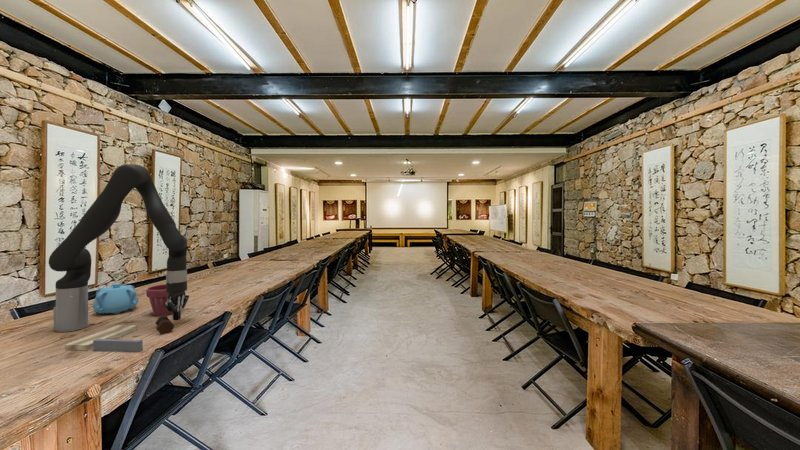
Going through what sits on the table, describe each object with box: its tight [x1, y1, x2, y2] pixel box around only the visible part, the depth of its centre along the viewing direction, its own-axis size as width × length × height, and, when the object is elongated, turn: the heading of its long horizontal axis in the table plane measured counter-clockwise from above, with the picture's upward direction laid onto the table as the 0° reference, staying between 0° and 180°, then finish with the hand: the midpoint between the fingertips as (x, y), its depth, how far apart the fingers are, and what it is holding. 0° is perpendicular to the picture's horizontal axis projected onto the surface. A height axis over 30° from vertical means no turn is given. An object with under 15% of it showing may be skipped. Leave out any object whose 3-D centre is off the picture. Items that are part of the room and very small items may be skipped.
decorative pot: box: [92, 282, 139, 315], centre depth 154 cm, size 16×16×14 cm
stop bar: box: [92, 338, 144, 353], centre depth 110 cm, size 16×2×4 cm, turn 89°
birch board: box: [64, 324, 138, 351], centre depth 119 cm, size 8×20×2 cm, turn 179°
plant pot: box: [146, 283, 173, 317], centre depth 152 cm, size 14×14×13 cm
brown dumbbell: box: [155, 315, 175, 335], centre depth 131 cm, size 6×5×15 cm
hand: (176, 319), depth 138 cm, fingers closed
